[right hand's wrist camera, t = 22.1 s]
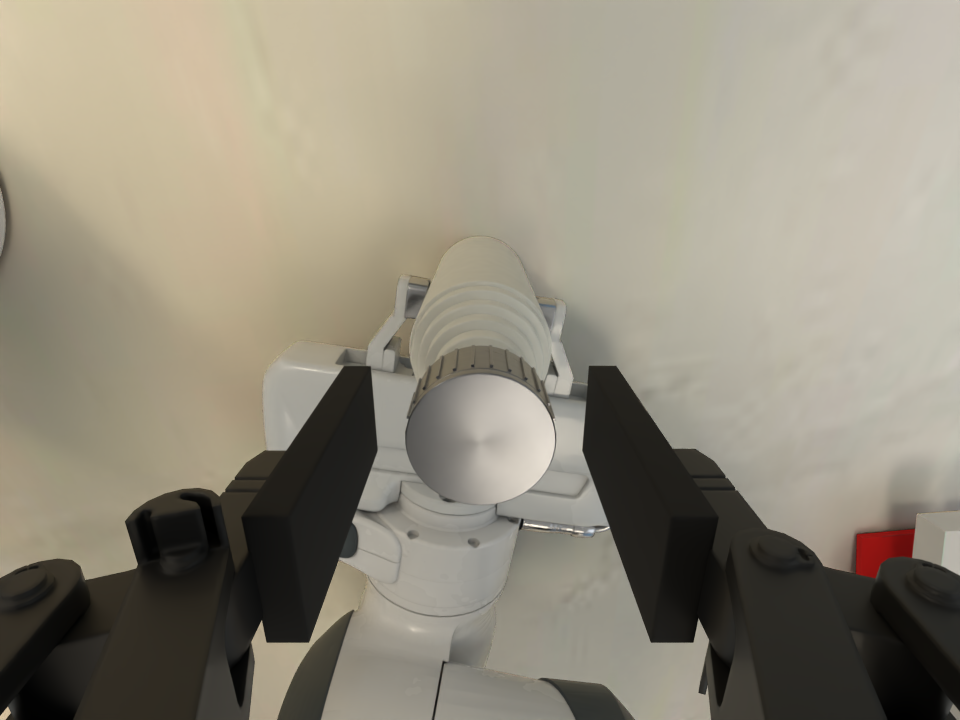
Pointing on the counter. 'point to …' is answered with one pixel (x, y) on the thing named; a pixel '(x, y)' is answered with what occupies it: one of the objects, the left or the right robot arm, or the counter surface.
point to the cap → (480, 426)
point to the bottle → (480, 307)
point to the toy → (914, 547)
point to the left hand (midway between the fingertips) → (482, 289)
